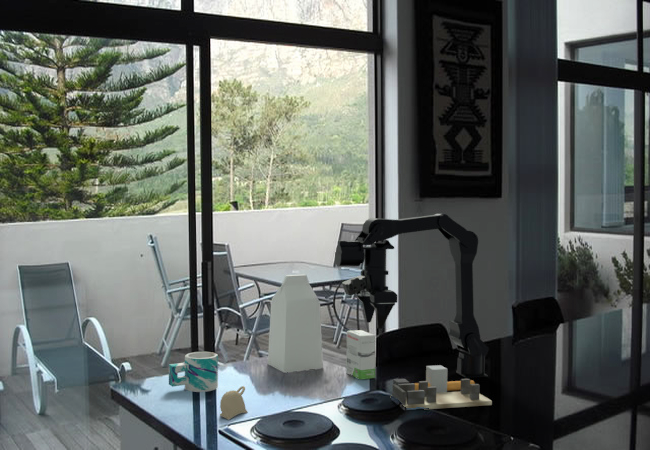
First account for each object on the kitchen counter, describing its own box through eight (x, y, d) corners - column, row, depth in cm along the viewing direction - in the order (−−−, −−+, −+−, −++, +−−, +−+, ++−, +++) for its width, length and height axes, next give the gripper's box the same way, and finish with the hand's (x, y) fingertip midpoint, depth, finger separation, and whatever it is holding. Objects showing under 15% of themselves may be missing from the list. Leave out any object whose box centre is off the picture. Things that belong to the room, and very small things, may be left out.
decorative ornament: (214, 417, 161) (214, 392, 161) (239, 407, 168) (239, 384, 168) (227, 420, 159) (228, 396, 159) (252, 411, 166) (253, 387, 166)
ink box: (375, 378, 196) (376, 334, 196) (359, 380, 194) (360, 336, 194) (361, 371, 204) (361, 329, 204) (345, 372, 202) (345, 330, 201)
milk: (284, 372, 201) (285, 278, 200) (267, 363, 211) (268, 273, 210) (323, 368, 206) (324, 276, 205) (305, 360, 217) (306, 272, 215)
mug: (222, 389, 183) (222, 356, 183) (176, 396, 177) (176, 361, 177) (209, 381, 190) (209, 350, 190) (164, 388, 184) (164, 355, 184)
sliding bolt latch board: (474, 394, 182) (474, 376, 181) (491, 404, 173) (492, 386, 173) (390, 399, 176) (390, 381, 176) (404, 410, 167) (404, 391, 167)
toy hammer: (469, 386, 189) (469, 363, 189) (476, 391, 185) (476, 367, 185) (392, 391, 183) (392, 367, 183) (397, 395, 180) (398, 371, 179)
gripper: (335, 263, 199) (335, 320, 200) (356, 270, 181) (355, 333, 182) (374, 262, 202) (373, 319, 203) (398, 269, 184) (397, 331, 185)
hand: (374, 325), depth 193 cm, fingers open, 9 cm apart
